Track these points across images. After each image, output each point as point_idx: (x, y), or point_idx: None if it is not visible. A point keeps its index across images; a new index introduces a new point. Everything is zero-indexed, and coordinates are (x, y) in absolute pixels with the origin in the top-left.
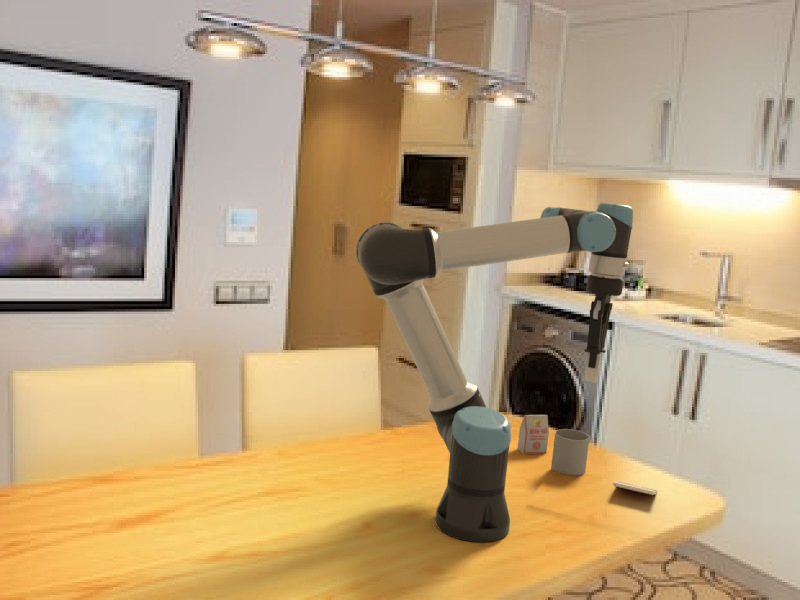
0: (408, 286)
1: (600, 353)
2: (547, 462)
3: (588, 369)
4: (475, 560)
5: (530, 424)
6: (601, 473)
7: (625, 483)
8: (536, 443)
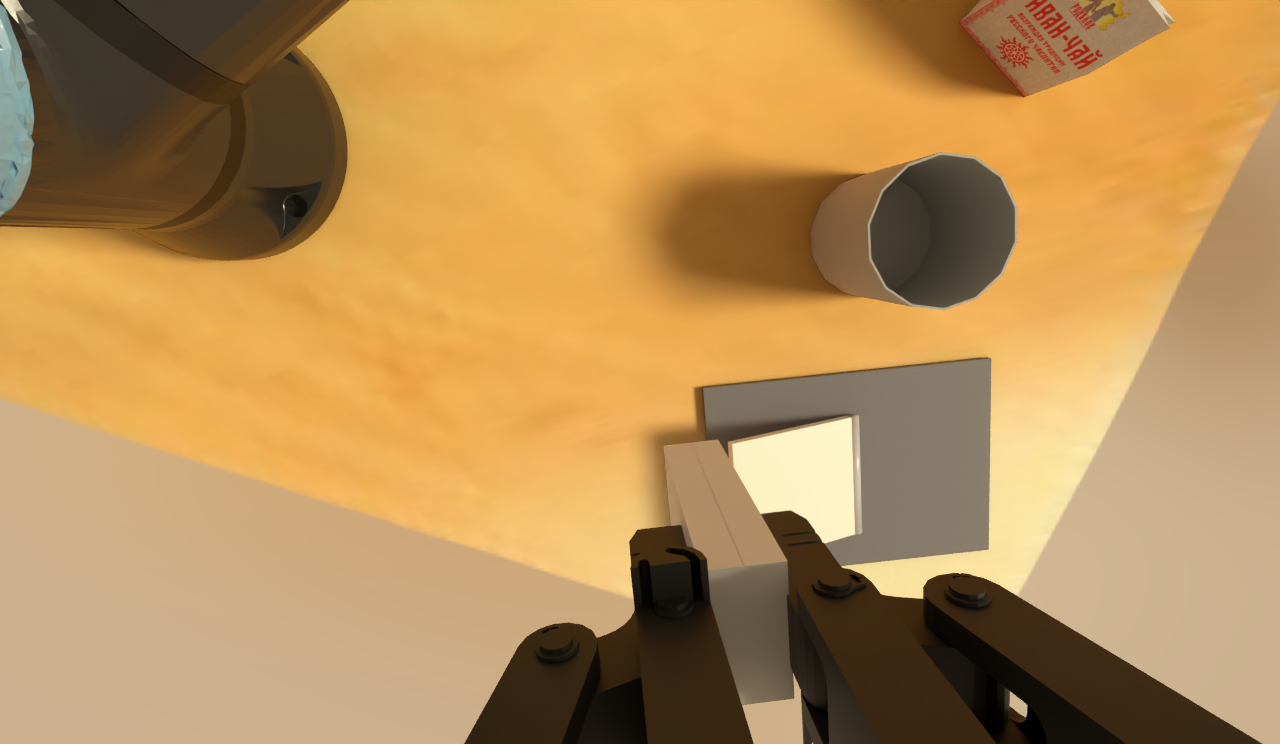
0: None
1: (765, 693)
2: (926, 138)
3: (677, 509)
4: (44, 250)
5: None
6: (941, 333)
7: (853, 440)
8: (1019, 48)
